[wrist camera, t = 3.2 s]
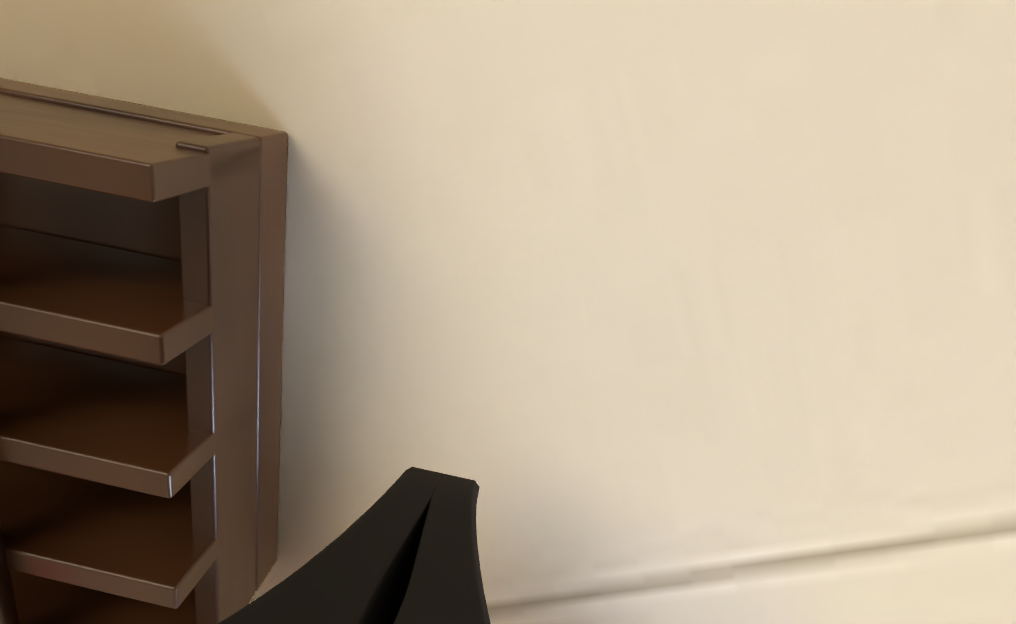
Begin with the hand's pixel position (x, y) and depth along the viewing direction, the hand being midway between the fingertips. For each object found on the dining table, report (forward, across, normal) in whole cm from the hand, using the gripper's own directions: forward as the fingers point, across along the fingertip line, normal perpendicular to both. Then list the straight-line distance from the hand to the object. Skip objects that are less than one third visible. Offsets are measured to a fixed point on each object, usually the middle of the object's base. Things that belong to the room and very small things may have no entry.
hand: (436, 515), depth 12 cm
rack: (+4, +9, 0) cm, 10 cm away
